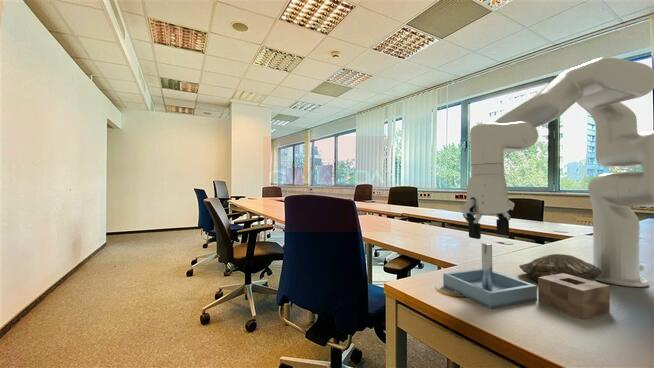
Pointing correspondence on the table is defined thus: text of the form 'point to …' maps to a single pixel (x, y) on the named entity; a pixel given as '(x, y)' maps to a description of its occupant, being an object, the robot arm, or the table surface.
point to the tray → (503, 288)
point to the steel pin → (487, 267)
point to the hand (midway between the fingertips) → (489, 236)
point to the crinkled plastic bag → (560, 267)
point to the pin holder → (574, 295)
